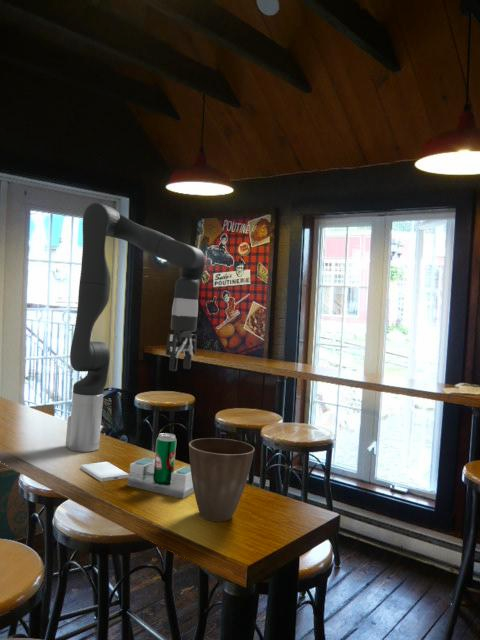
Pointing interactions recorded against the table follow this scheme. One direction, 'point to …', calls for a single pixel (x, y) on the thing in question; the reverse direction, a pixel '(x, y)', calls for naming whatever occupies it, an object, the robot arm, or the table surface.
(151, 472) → the grey u-shaped block
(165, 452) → the soda can
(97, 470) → the hard drive
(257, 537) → the table surface
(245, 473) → the plant pot
